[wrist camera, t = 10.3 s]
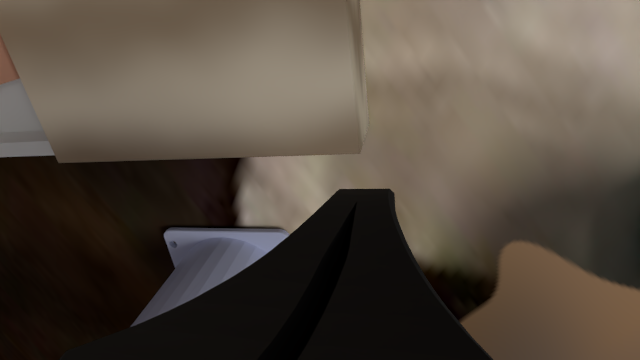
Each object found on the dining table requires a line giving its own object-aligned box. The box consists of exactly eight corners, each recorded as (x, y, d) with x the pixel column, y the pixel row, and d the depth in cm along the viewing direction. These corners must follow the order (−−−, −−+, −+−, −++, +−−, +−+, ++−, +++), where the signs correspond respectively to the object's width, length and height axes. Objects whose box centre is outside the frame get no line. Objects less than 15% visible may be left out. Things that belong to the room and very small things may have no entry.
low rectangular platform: (369, 123, 20) (360, 153, 17) (104, 136, 24) (58, 162, 21) (343, -201, 15) (323, -238, 12) (5, -120, 18) (-75, -133, 15)
